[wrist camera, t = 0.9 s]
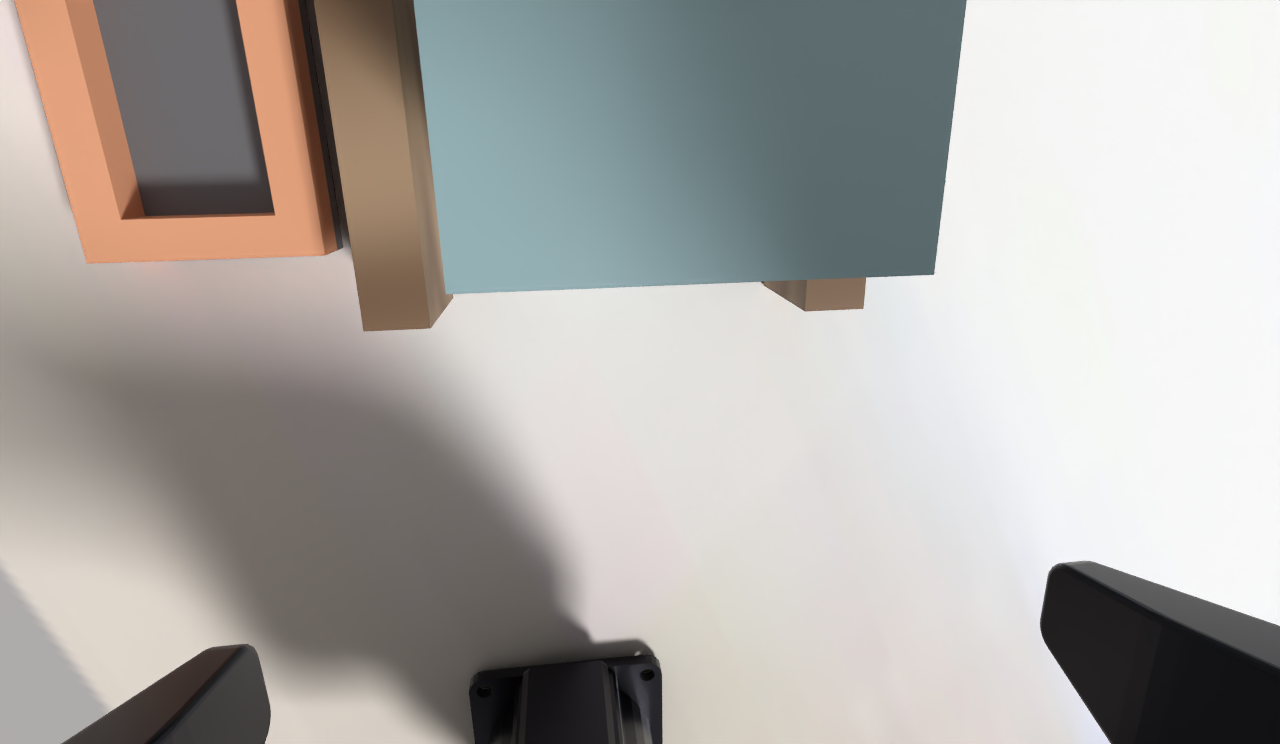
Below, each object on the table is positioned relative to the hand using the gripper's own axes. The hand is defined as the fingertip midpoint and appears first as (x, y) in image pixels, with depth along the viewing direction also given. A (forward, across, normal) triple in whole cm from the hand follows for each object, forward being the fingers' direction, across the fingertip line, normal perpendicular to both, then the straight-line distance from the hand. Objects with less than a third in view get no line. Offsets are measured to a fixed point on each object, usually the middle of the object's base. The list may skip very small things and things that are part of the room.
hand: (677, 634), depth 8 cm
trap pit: (+13, +10, -8) cm, 18 cm away
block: (+13, 0, -7) cm, 14 cm away
